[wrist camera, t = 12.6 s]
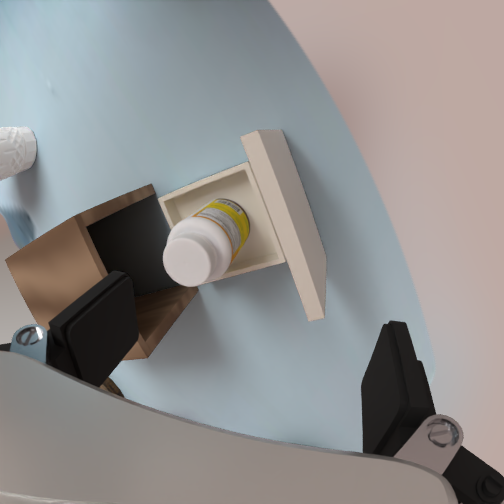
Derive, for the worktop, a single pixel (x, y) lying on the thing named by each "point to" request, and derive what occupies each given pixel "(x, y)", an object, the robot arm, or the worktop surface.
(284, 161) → the drawer
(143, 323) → the cabinet
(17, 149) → the white cup
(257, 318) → the worktop surface
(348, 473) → the robot arm
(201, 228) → the supplement bottle
